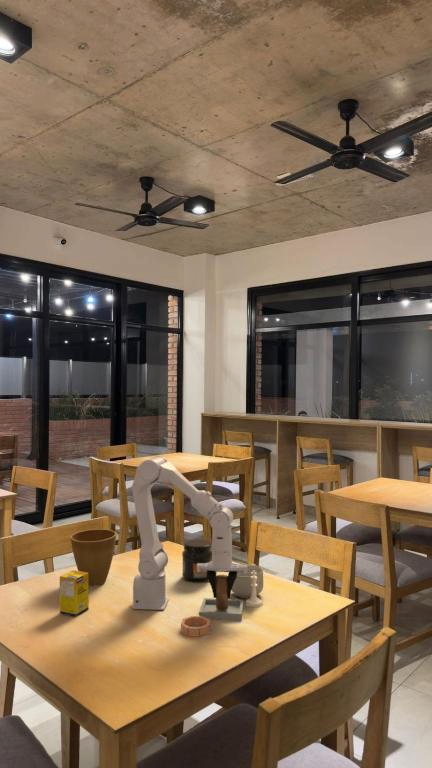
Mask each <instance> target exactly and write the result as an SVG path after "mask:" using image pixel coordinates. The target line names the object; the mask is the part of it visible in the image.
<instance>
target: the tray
mask: <svg viewBox="0 0 432 768" xmlns="http://www.w3.org/2000/svg"><path fill="white" fill-rule="evenodd" d="M244 601H245V600H244V599H236V598H235V599H234V598H233V599H231V598H228V609H226V610H218V609H216V598H208V597H206V598H205V597H204V598H203V600H202V603H201V605H200V608H199V611H198V616H203V617H205V618H207V619H209V620H223V621H224V620H226V621H242V620H243V614H244V613H243V612H244V606H245V604H244V603H245V602H244Z"/></svg>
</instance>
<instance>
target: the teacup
mask: <svg viewBox="0 0 432 768" xmlns="http://www.w3.org/2000/svg"><path fill="white" fill-rule="evenodd" d="M246 565H247V574H243V573H237V577H236V579H235V582H234V584H233V587H232V590H231V593H233V594H234V595H235V596H237V597H238V598H240V599H246V600H247V599H250V598H251V595H252V586H250V585H251V584H252V580H251V576H253V574H251V572H253V570H255V573H257V575H256V574H255V576H257V580H256V584H257V585H258V586H256V596H257V597H258V596H259V594H261V592H262V591H263V590H264V589H263V588H264V568H262V567H261V566H258V565H257V564H255V563H250V564H246Z"/></svg>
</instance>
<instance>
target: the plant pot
mask: <svg viewBox="0 0 432 768" xmlns="http://www.w3.org/2000/svg"><path fill="white" fill-rule="evenodd" d="M116 538H117V532H116V531H114V530H112V529H106V528H97V529H95V528H94V529H86V530H82V531H77V532H75V533H73V534H72V535H70V543H71V548H72V553H73V558H74V563H75V565H76V568H77V571H80V572H86V573H88V587H97V586H101V585H103V584H105V583H106V581H107V578H108V576H109V573H110V569H111V567H112V566H111V565H112V561H113V557H114V552H115V548H116V547H115V545H116Z"/></svg>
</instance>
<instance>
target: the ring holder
mask: <svg viewBox="0 0 432 768" xmlns="http://www.w3.org/2000/svg"><path fill="white" fill-rule="evenodd" d="M192 625H198V627H197V626H195V627H194V626H192ZM210 630H211V619H207V618H205V617H203V616H199V615H191V616H188V617H185V618H183V619H182V620H181V623H180V631H181V633H182V634H184V635H186V636H188V637H203V636H204V635H207V634H209V633H210Z"/></svg>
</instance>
